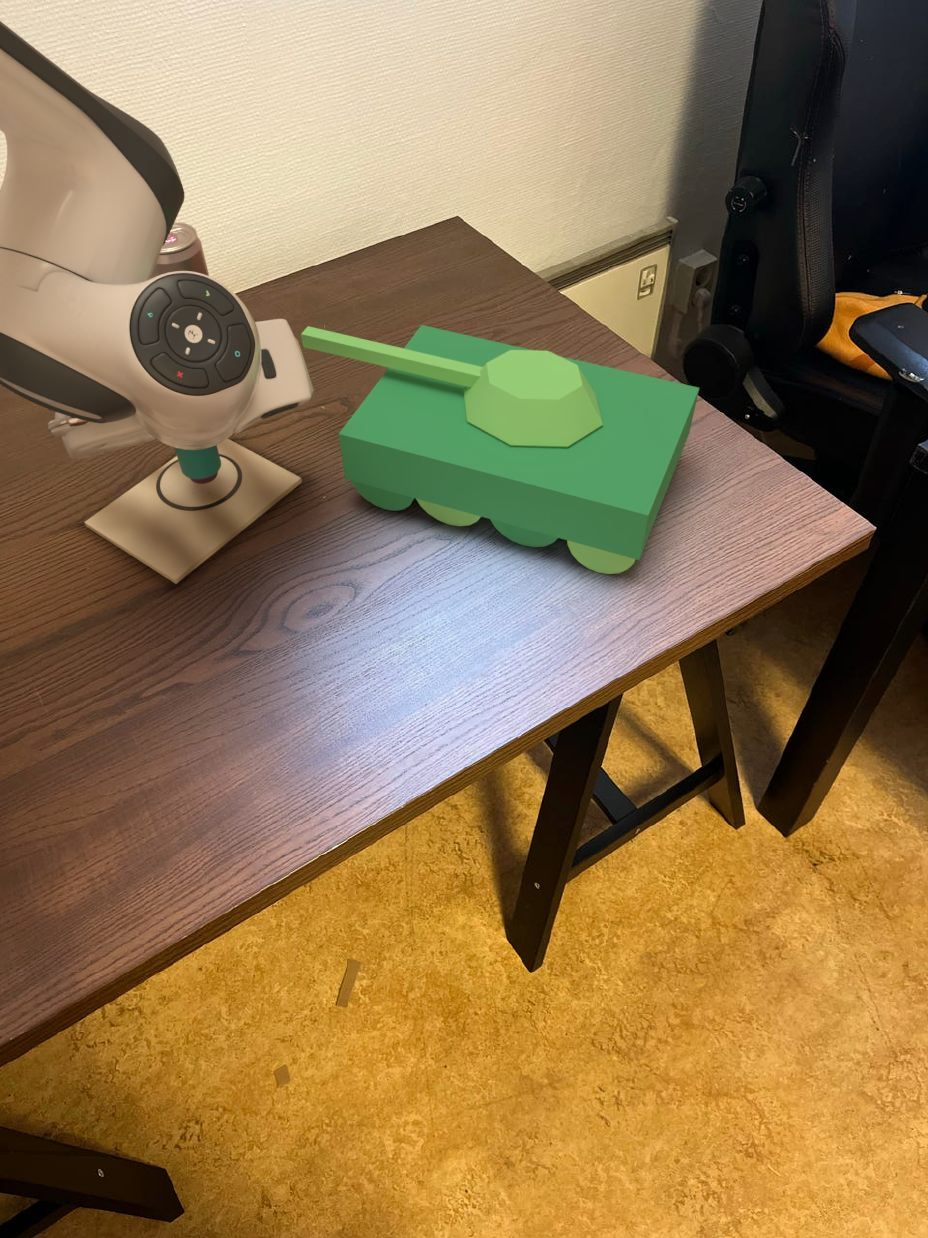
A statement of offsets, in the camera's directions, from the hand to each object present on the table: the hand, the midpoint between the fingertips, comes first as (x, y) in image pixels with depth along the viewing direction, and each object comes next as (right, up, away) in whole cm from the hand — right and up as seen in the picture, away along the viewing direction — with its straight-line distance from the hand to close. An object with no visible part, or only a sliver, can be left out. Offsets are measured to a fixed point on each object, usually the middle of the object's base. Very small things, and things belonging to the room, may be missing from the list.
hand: (187, 417), depth 82 cm
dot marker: (0, -4, +4) cm, 6 cm away
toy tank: (+26, -4, +8) cm, 27 cm away
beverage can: (-4, +9, +19) cm, 21 cm away
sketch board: (-1, -7, +5) cm, 9 cm away
